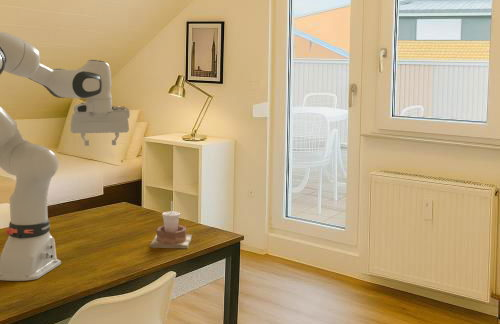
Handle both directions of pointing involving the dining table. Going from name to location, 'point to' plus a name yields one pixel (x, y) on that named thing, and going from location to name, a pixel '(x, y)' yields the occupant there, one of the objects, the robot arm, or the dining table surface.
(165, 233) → the bottle stand
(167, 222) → the smoothie
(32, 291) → the dining table surface
